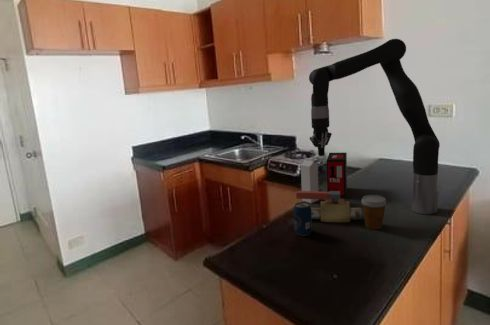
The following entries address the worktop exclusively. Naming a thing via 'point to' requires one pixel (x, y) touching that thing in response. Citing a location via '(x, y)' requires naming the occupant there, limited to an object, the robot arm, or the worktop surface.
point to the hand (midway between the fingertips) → (321, 155)
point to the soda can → (302, 218)
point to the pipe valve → (336, 211)
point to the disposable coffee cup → (373, 211)
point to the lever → (318, 195)
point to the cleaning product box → (337, 173)
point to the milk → (309, 177)
